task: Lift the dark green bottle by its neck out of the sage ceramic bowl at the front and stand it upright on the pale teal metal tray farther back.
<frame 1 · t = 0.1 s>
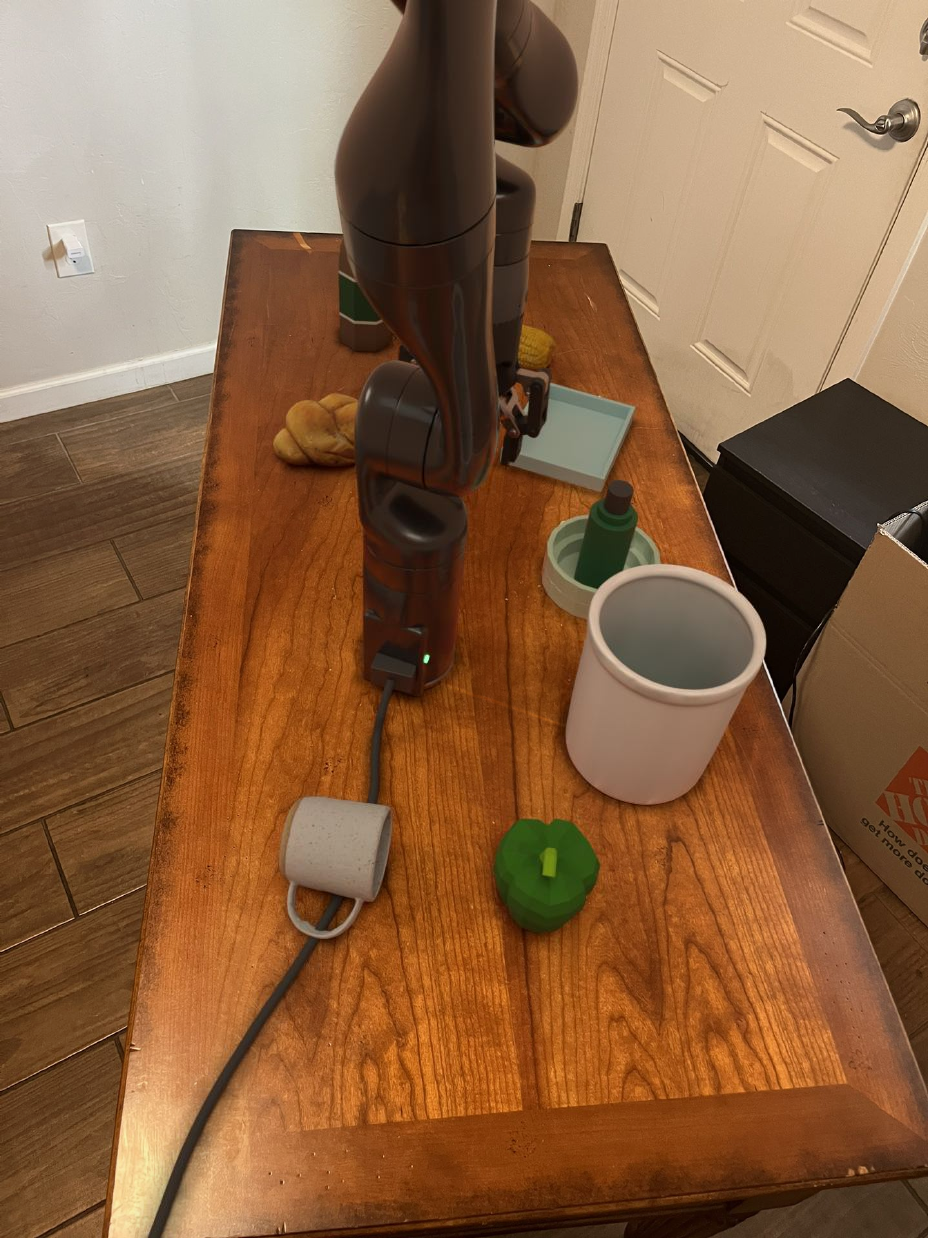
hand: (466, 448, 92), 17 cm above the table, tool pointing down, fingers open, 8 cm apart
utensil holder: (632, 743, 91), on the table
bread roll: (326, 451, 117), on the table
bowl: (595, 584, 105), on the table
bottle: (596, 581, 104), point 1 cm above the table, touching bowl
food: (480, 355, 133), on the table
ceramic mug: (337, 882, 79), on the table
tray: (567, 443, 121), on the table
beer bottle: (366, 339, 134), on the table
bell pepper: (534, 900, 80), on the table
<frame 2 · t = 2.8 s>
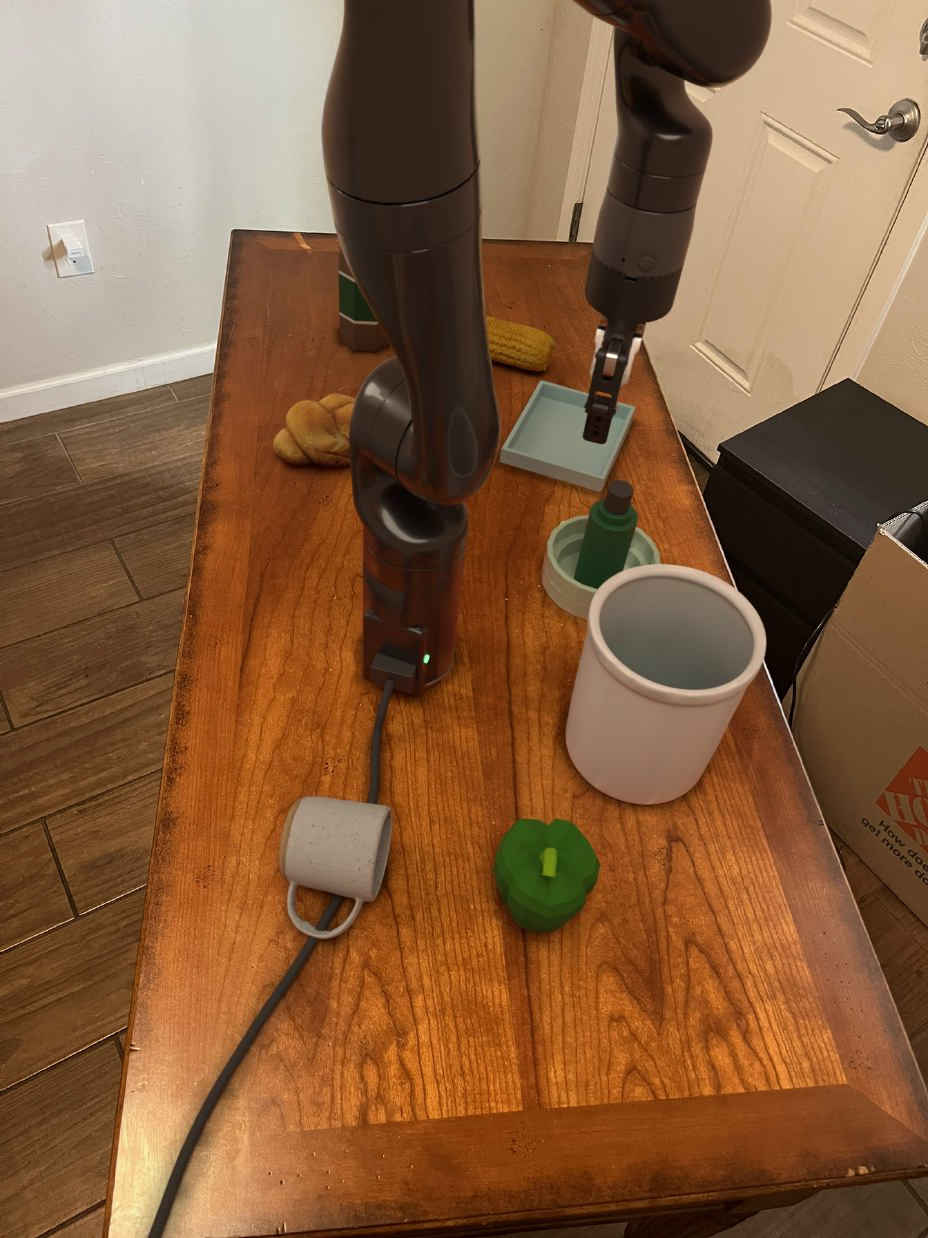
hand: (602, 413, 88), 23 cm above the table, tool pointing down, fingers open, 8 cm apart
nothing on the table moved.
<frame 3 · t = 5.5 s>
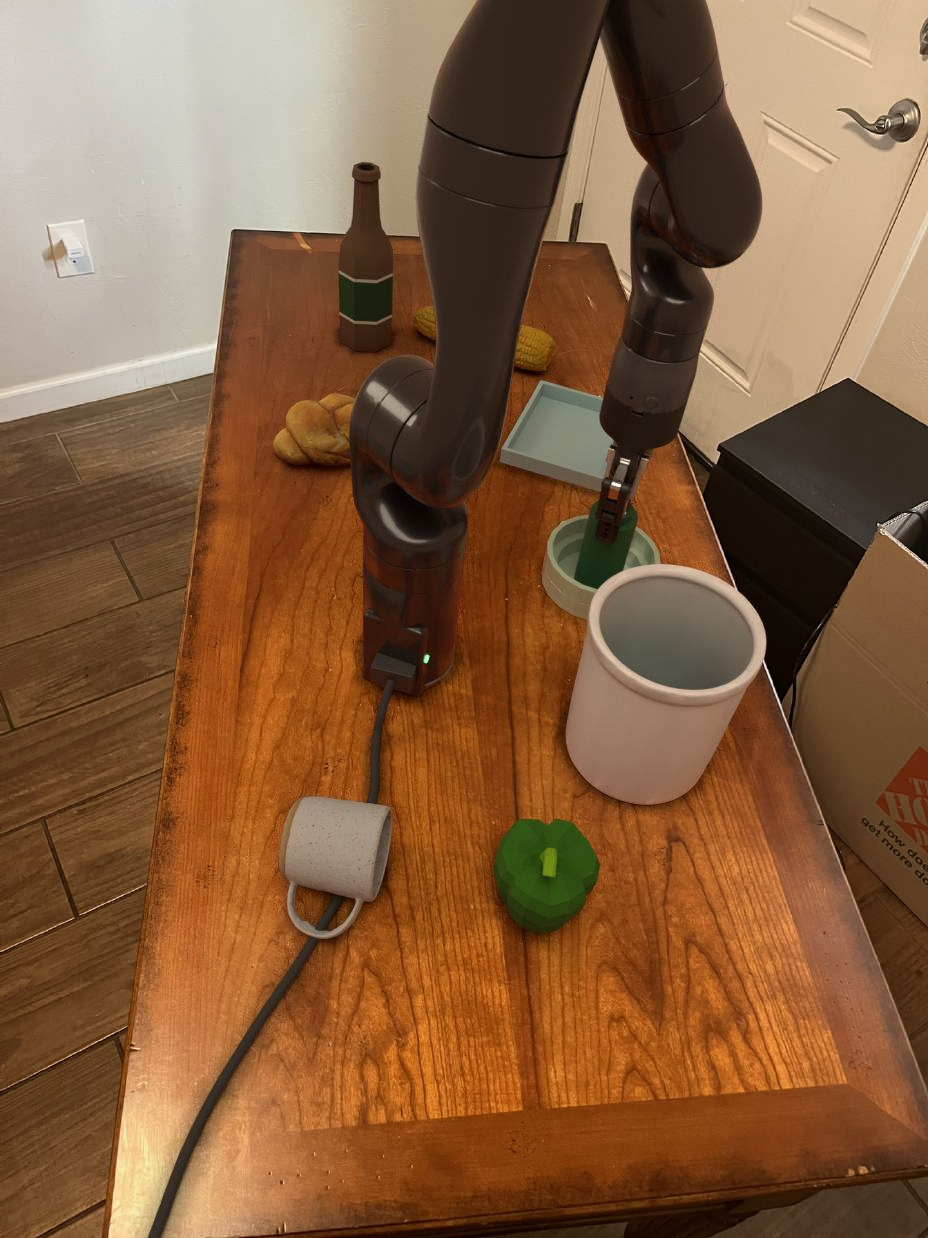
hand: (612, 521, 98), 10 cm above the table, tool pointing down, fingers closed on bottle, 5 cm apart
bottle: (596, 580, 104), point 1 cm above the table, touching bowl, gripper
everything else where it was.
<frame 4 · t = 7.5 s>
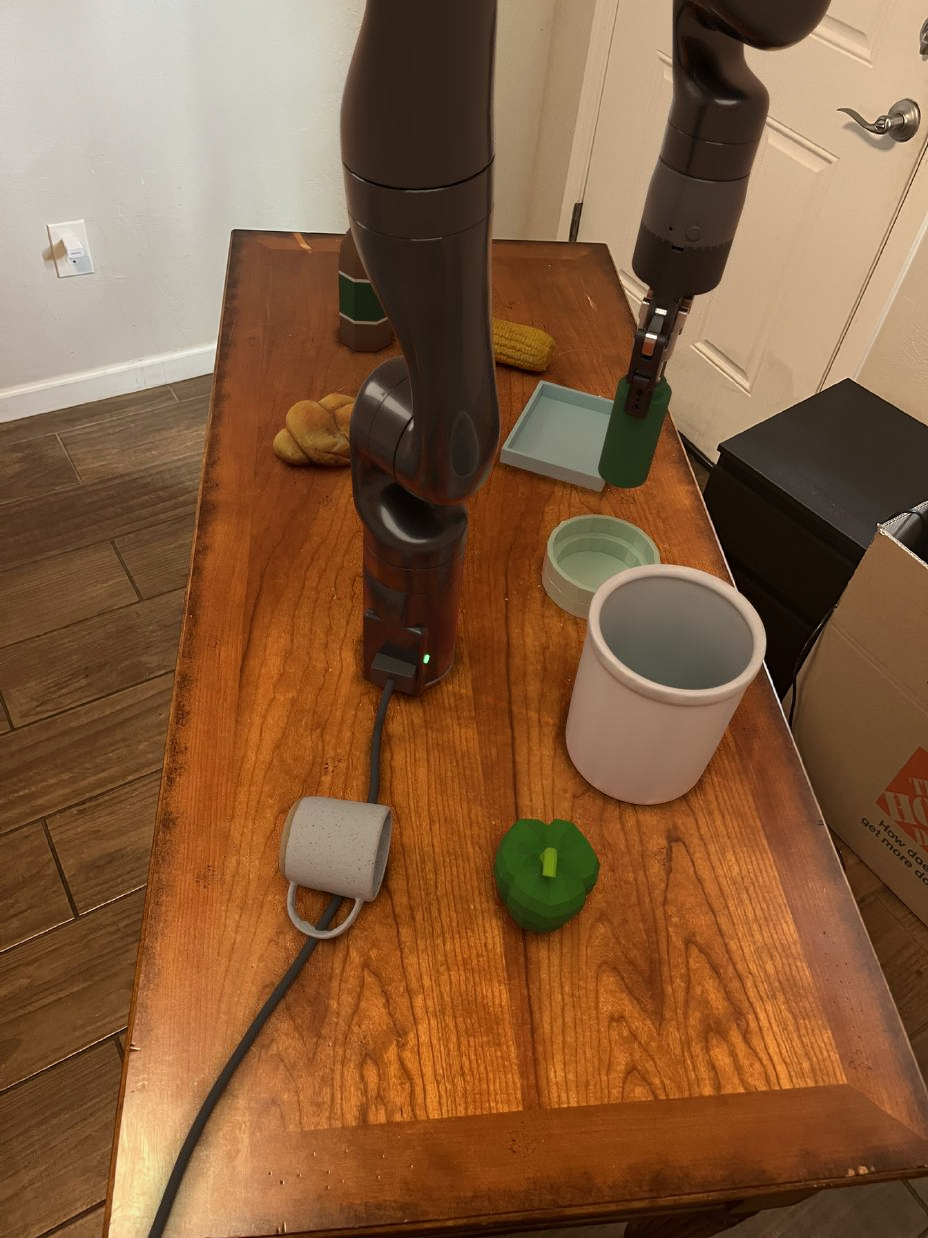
hand: (642, 397, 87), 24 cm above the table, tool pointing down, fingers closed on bottle, 5 cm apart
bottle: (622, 472, 94), point 15 cm above the table, touching gripper
everything else where it was.
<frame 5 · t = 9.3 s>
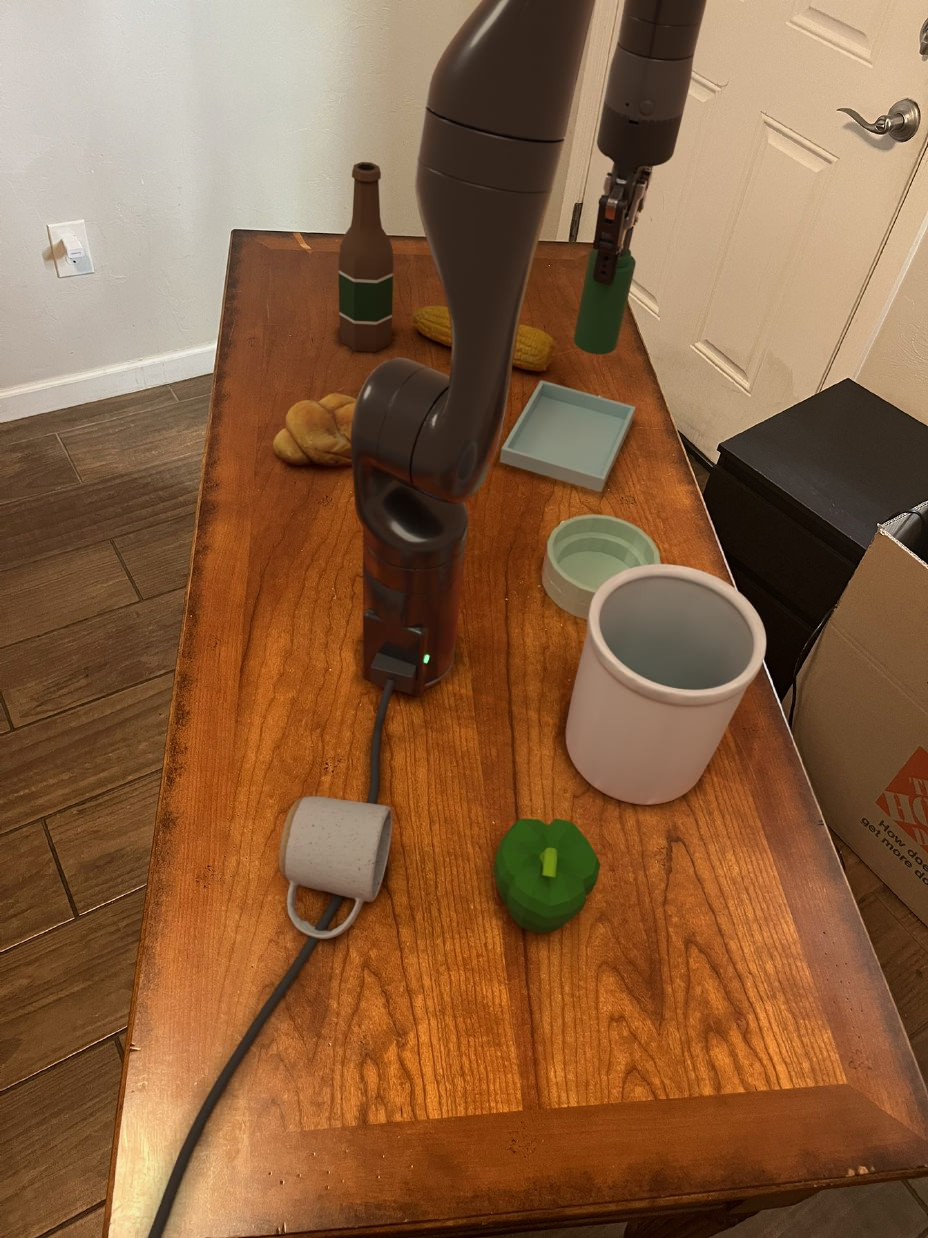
hand: (609, 268, 101), 25 cm above the table, tool pointing down, fingers closed on bottle, 5 cm apart
bottle: (595, 341, 107), point 16 cm above the table, touching gripper
everything else where it was.
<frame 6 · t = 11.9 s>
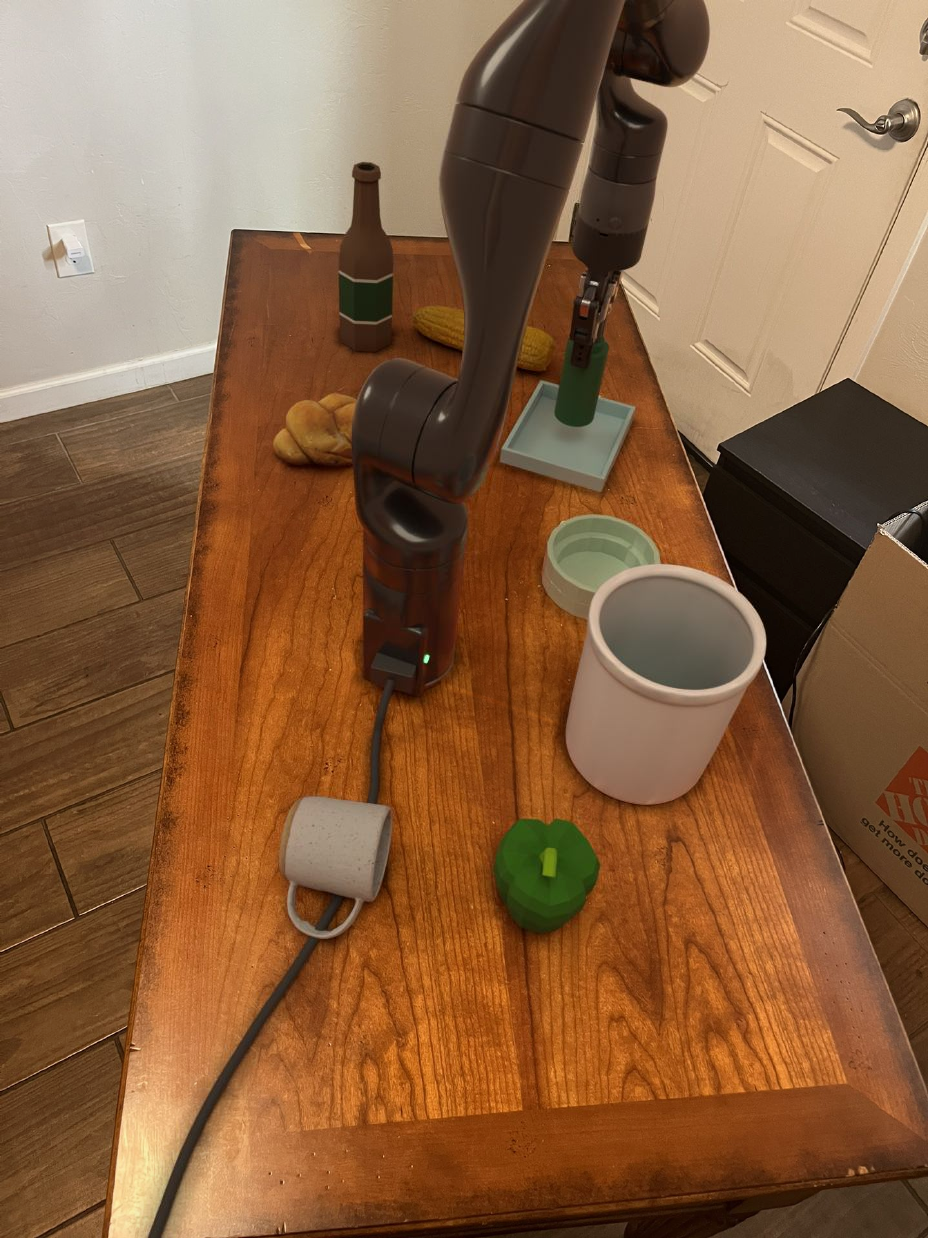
hand: (585, 353, 111), 13 cm above the table, tool pointing down, fingers closed on bottle, 5 cm apart
bottle: (573, 414, 118), point 4 cm above the table, touching gripper
everything else where it was.
when the fingers open (9 cm above the table, at t = 13.4 s): bottle stays where it is, resting on tray.
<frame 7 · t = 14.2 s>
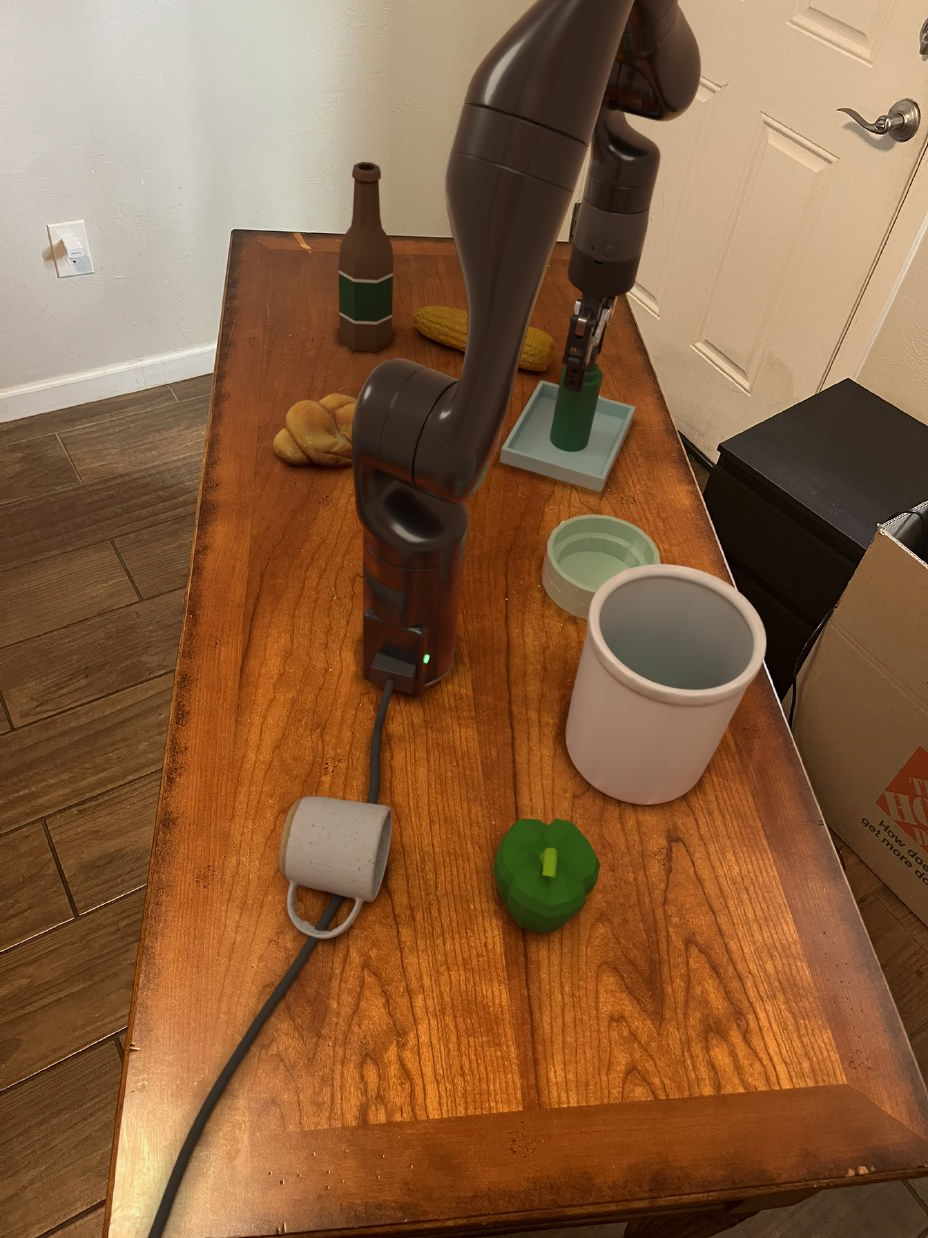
hand: (582, 370, 113), 11 cm above the table, tool pointing down, fingers open, 8 cm apart
bottle: (568, 439, 121), point 1 cm above the table, touching tray
everything else where it was.
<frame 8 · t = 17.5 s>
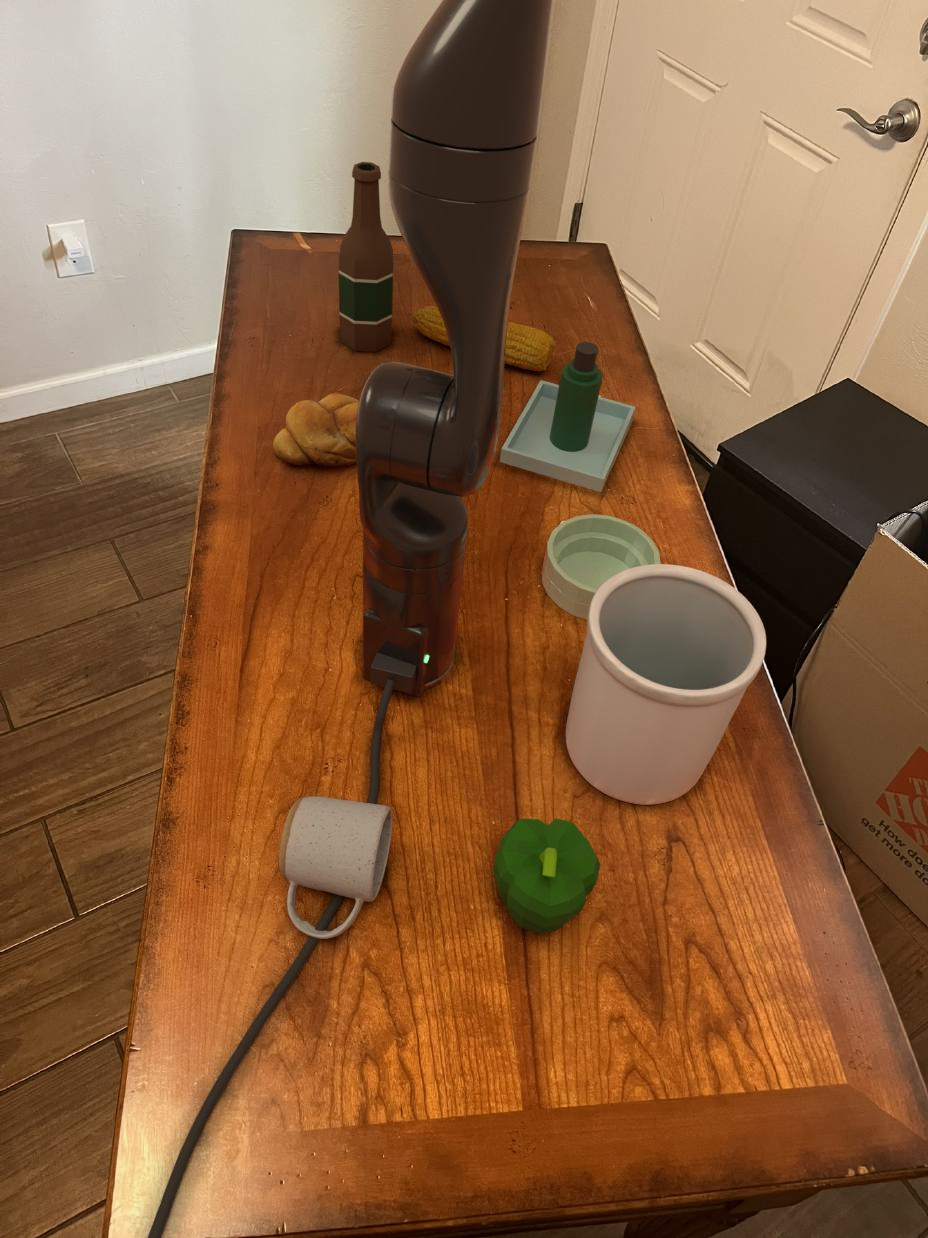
hand: (467, 239, 97), 28 cm above the table, tool pointing down, fingers open, 8 cm apart
nothing on the table moved.
at the end: bottle inside the target area in the tray (0.1 cm from its centre), point 0.6 cm above the tray's base; bottle tilted 0° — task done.
